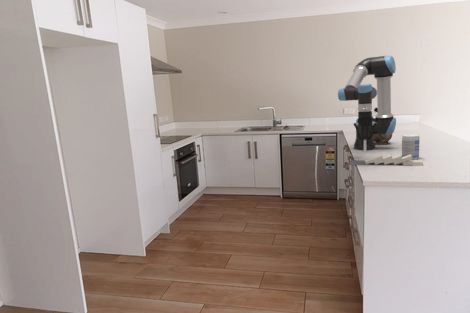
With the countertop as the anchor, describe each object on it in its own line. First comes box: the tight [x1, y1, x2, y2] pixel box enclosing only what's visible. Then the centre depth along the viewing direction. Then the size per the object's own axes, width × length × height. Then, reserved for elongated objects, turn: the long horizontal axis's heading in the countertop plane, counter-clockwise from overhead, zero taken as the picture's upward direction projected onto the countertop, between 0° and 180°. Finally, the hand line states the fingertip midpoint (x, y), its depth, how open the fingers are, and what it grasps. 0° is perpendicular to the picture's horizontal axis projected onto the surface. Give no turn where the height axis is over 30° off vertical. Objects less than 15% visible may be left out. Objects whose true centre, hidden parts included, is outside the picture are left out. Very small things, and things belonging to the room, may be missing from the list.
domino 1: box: [365, 154, 384, 164], centre depth 205 cm, size 5×2×10 cm
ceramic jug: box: [373, 107, 393, 145], centre depth 266 cm, size 17×15×30 cm
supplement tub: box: [401, 133, 420, 160], centre depth 212 cm, size 10×10×15 cm
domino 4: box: [393, 154, 413, 165], centre depth 199 cm, size 5×2×10 cm
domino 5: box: [403, 159, 424, 166], centre depth 197 cm, size 5×2×10 cm
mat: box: [349, 159, 414, 167], centre depth 207 cm, size 13×34×1 cm, turn 67°
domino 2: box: [374, 153, 394, 166], centre depth 203 cm, size 5×2×10 cm
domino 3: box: [384, 154, 402, 165], centre depth 201 cm, size 5×2×10 cm
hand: (365, 150), depth 206 cm, fingers closed
